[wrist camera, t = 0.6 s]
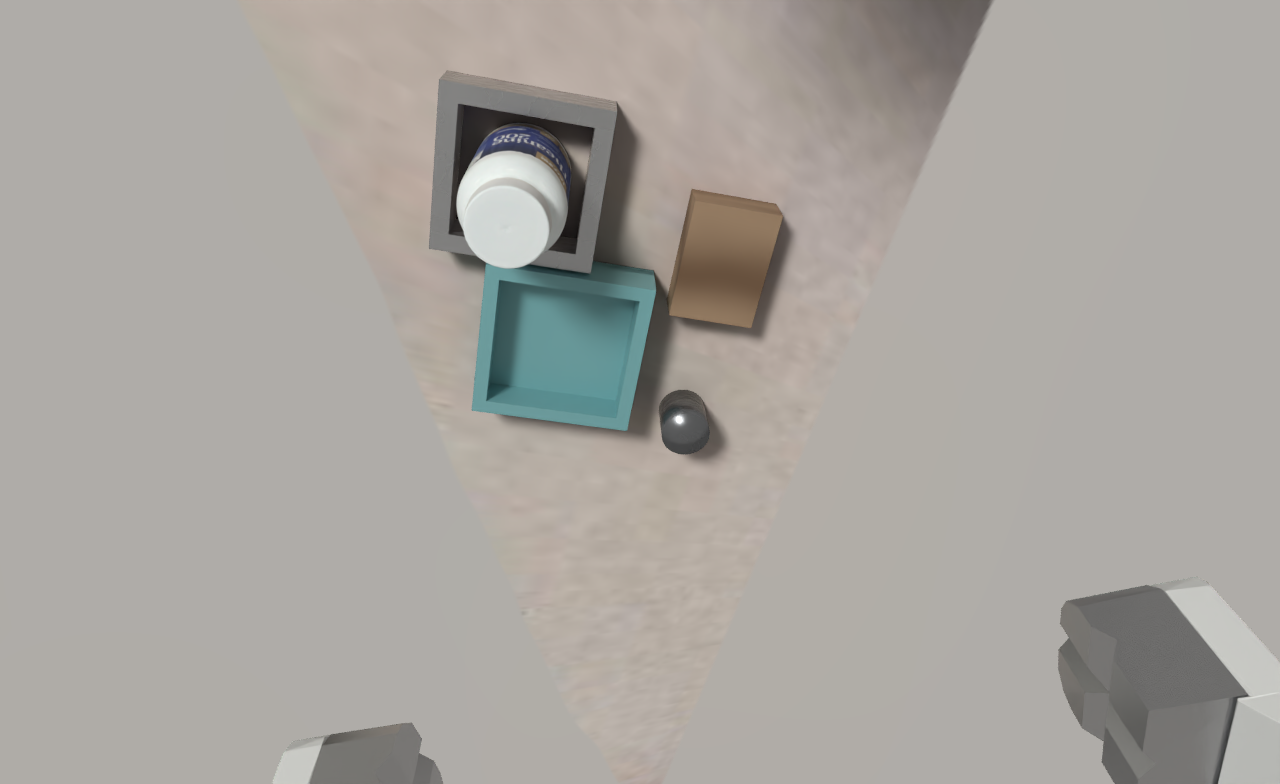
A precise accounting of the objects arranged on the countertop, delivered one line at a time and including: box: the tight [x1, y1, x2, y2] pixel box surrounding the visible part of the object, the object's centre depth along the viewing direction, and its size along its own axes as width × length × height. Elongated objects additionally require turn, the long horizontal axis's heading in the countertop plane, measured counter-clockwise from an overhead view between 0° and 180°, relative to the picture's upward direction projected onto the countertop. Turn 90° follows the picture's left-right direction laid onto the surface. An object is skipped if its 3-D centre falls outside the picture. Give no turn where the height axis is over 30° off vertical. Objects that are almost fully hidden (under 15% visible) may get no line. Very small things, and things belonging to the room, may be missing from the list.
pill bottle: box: [456, 123, 571, 269], centre depth 42 cm, size 5×5×10 cm
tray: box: [472, 261, 656, 431], centre depth 50 cm, size 10×10×3 cm
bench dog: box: [659, 390, 710, 454], centre depth 53 cm, size 3×3×3 cm
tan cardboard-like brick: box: [667, 189, 783, 328], centre depth 48 cm, size 7×5×2 cm
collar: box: [429, 71, 617, 274], centre depth 45 cm, size 9×9×2 cm
